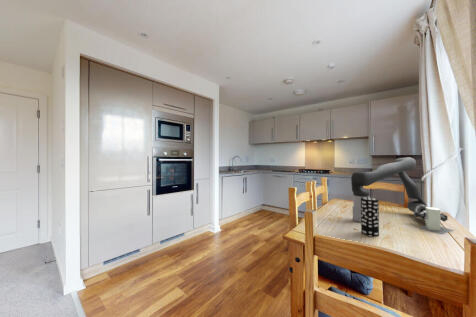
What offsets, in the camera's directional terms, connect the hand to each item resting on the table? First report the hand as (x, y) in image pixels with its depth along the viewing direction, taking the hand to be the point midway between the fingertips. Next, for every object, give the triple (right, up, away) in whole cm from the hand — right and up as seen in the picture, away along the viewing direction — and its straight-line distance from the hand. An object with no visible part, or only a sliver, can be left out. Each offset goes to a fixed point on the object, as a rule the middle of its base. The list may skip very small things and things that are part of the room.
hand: (434, 218), depth 112 cm
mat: (+2, -7, +1) cm, 7 cm away
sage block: (+1, -6, +2) cm, 7 cm away
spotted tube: (-39, -8, -3) cm, 40 cm away
